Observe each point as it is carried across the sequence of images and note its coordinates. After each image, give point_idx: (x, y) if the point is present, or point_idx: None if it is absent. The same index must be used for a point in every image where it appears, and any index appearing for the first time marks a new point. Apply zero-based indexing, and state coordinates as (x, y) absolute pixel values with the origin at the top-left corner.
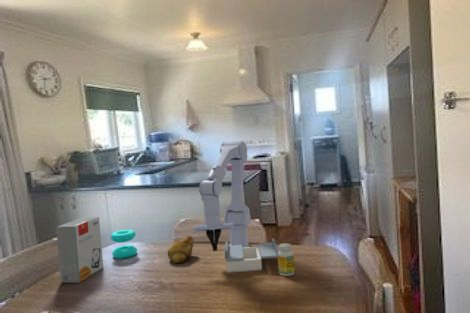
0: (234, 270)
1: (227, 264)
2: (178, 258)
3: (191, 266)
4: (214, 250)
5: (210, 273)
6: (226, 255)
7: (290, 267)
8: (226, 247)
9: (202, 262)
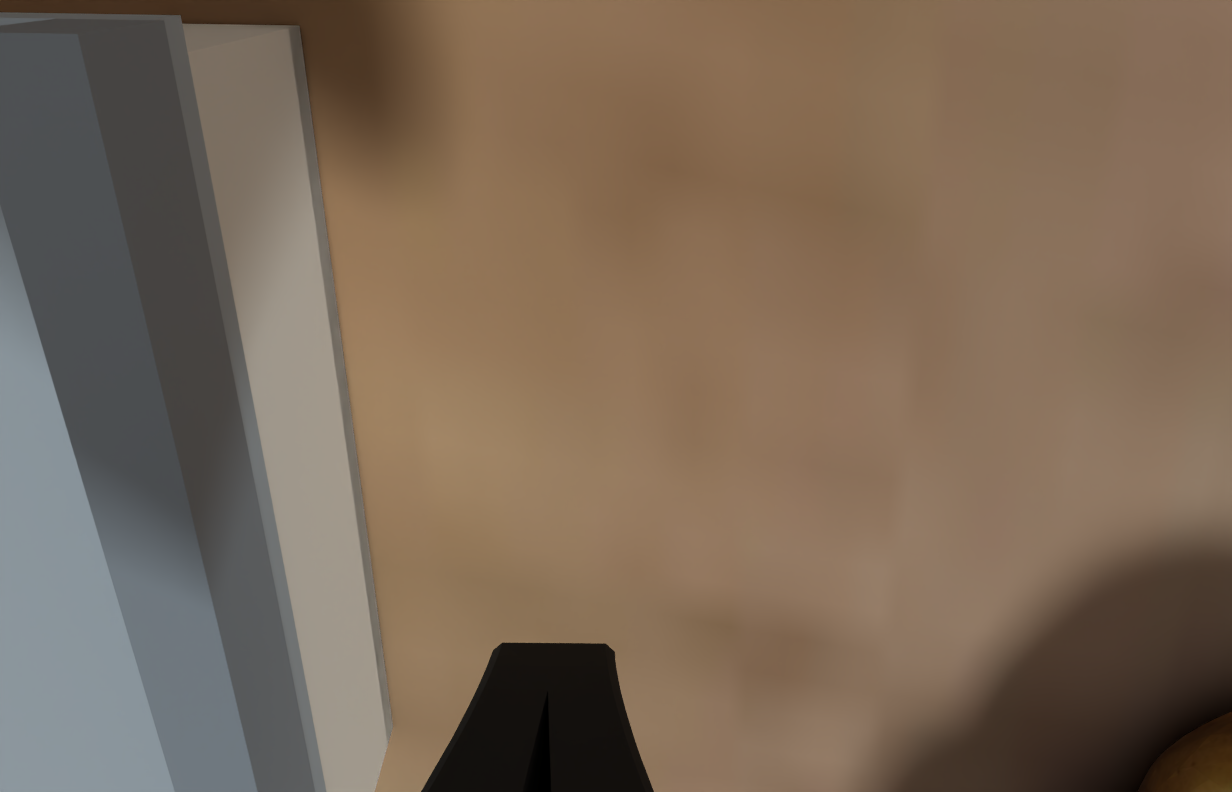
0: None
1: (193, 48)
2: None
3: (1058, 543)
4: (570, 649)
5: (696, 90)
6: (17, 27)
7: None
8: (206, 767)
9: (838, 672)
